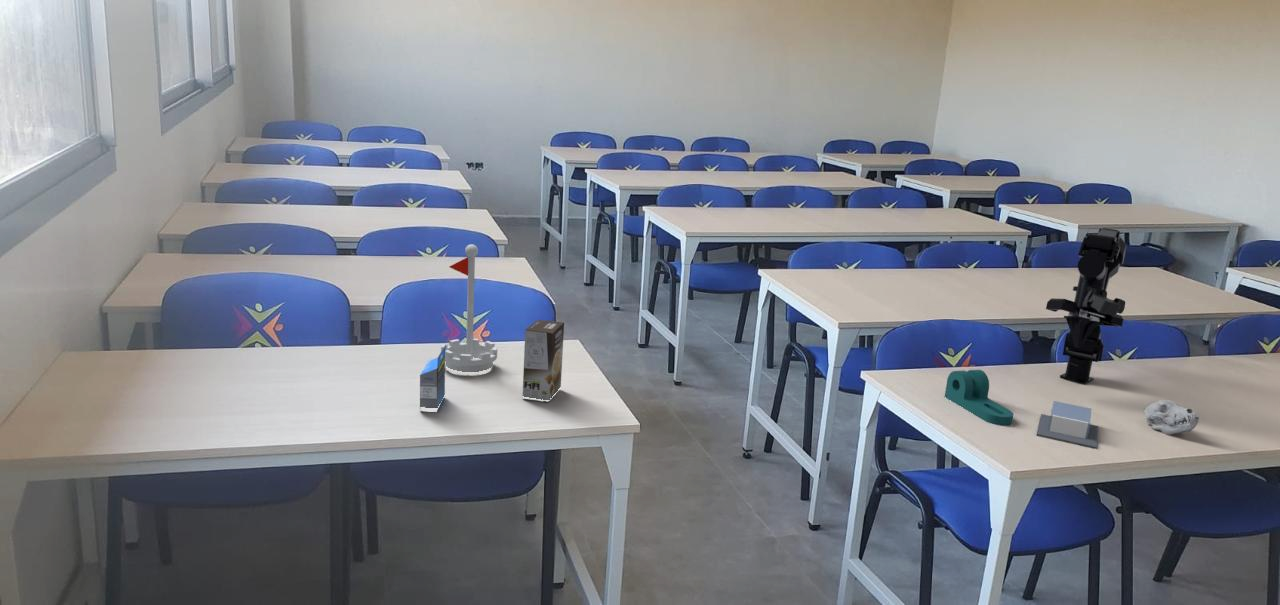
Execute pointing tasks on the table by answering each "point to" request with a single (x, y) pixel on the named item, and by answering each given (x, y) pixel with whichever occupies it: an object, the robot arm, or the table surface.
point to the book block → (1070, 419)
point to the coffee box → (543, 359)
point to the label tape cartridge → (433, 382)
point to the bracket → (976, 396)
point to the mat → (1046, 433)
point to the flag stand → (469, 328)
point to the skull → (1170, 417)
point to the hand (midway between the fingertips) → (1077, 347)
